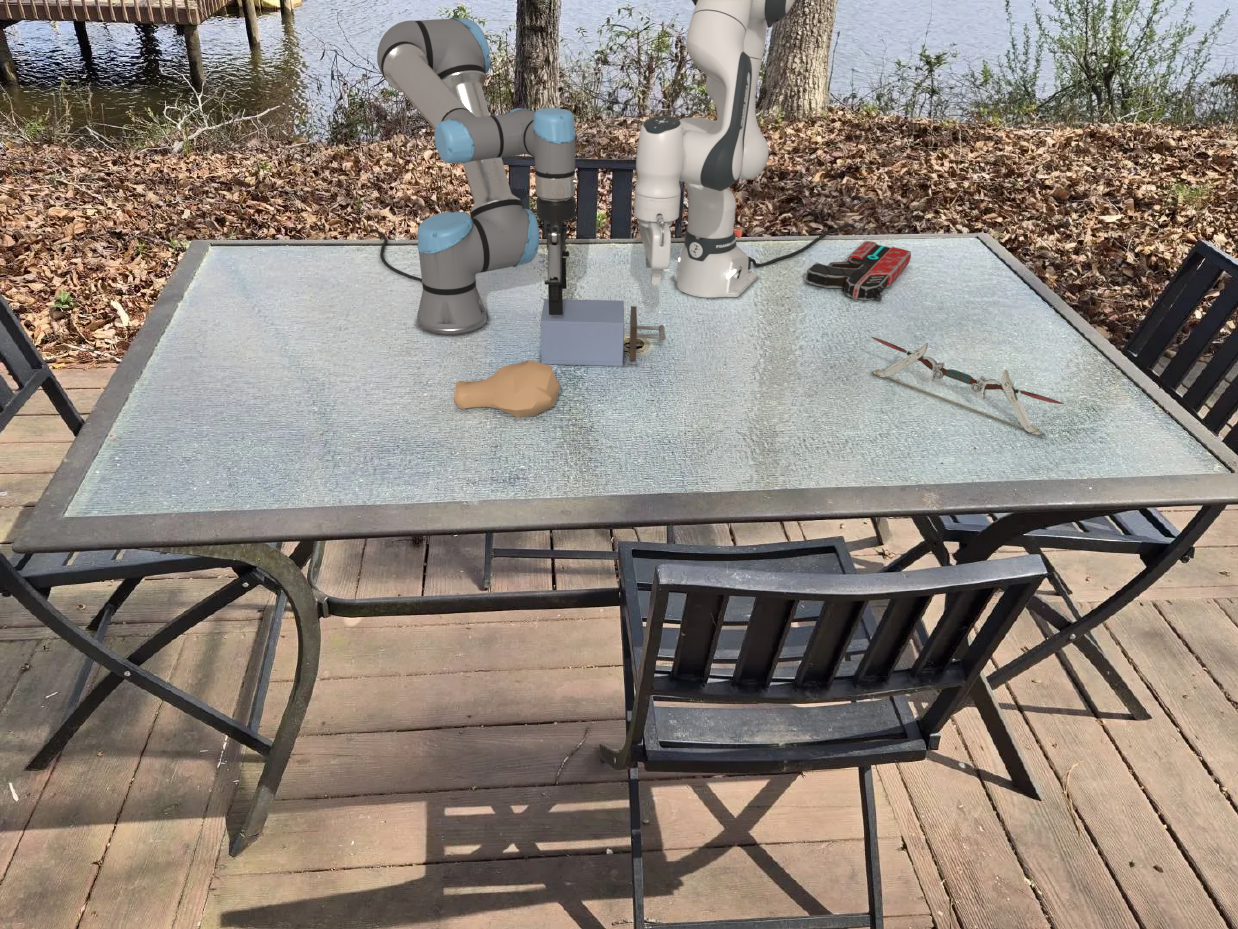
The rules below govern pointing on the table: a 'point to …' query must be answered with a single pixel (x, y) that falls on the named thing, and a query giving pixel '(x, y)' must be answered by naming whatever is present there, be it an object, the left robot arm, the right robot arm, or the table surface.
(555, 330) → the cabinet
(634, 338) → the drawer
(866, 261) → the gun
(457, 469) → the table surface
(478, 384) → the squash
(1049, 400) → the bow
